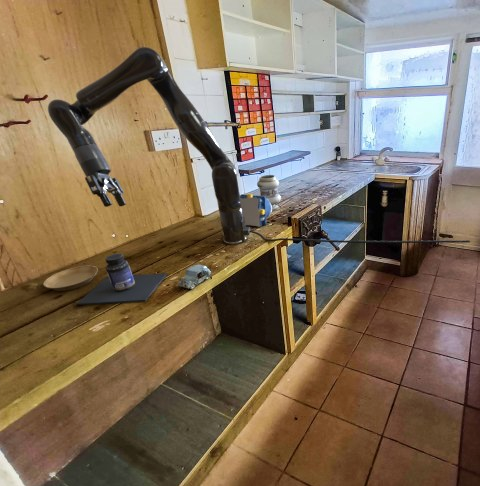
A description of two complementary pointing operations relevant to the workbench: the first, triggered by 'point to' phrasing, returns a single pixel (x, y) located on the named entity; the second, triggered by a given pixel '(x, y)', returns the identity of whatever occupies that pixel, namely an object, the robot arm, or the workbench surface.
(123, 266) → the pill bottle
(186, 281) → the toy car
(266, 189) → the apothecary jar
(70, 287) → the plant saucer
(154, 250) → the workbench surface
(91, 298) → the mat
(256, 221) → the valve
